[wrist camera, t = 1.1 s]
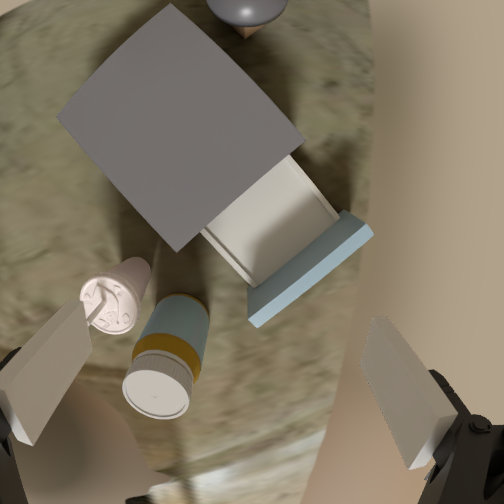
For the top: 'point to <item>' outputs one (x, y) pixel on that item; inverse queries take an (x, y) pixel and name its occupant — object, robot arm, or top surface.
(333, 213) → the light blue drawer
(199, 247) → the top surface
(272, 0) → the disc
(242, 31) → the block
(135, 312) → the smoothie
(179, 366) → the bottle
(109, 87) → the housing
